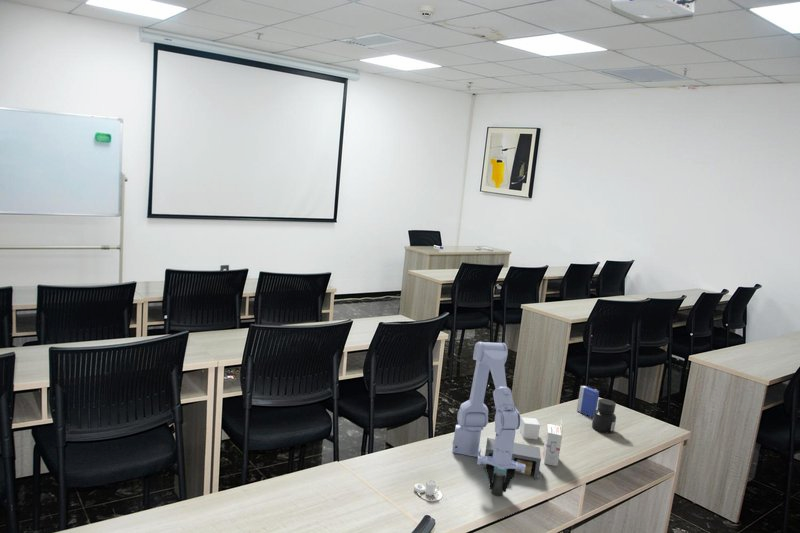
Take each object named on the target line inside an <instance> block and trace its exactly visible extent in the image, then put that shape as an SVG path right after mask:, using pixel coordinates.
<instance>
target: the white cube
mask: <svg viewBox="0 0 800 533" xmlns="http://www.w3.org/2000/svg"><path fill="white" fill-rule="evenodd" d="M520 420H521V422H520V427H519V429H518V430H519V434H520V436H521V437H522V438H523V439H533V440H538V439H539V436H540V435H539V434H540V428H541V424H540V422H539V420H538V419H537V418H534V417H525V416H524V417H522V416H520Z"/></svg>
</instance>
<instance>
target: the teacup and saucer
mask: <svg viewBox="0 0 800 533" xmlns="http://www.w3.org/2000/svg"><path fill="white" fill-rule="evenodd" d="M420 488H421V489H420ZM413 489H414V491H415V493H416V492H418V493H421V494H423V493H425V494H426V495H427V496H428V495H429V496H428V497H432V495H433V496H434V495H436V494H437V497H438V498H437V497H436V498H427V499H426V500H425V501H428V502H438V501H440V500H442V499H443V493H442V492H441V490H440V489H439V486H437V482H436V481H435V480H432V479H428V480H426V481H425V486H424V485H423V484H422V483H415V484H414V485H413ZM435 491H437V492H438V493H437V492H435ZM438 494H439V496H438ZM429 499H431V500H429ZM432 499H433V500H432Z"/></svg>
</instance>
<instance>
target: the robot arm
mask: <svg viewBox="0 0 800 533" xmlns="http://www.w3.org/2000/svg"><path fill="white" fill-rule="evenodd" d="M473 349H474V350H473V356H472V360H475V361H476V362H475V368H474V373H473V378H472V382H471V388H470V389H471V390H470V396H469V399H468V400H466V401H464V402H462V403H461V404H460V406H459V410H458V411H457V416H456V418H457V424H455V428H454V435H453V439H452V453H453V454H457V455H459V454H460V455H465V456H468V457H469V456H470V457H475V458H477V462H476V464H477V465H484V464H485V465H486V469H485V470H486V474H487V477H488V482H489V483H488V484H489V490H492V483H493V474H494V466H495V467H498V469H503V470H504V469H507V471H506V478H505V483H504V490H503V493H506V492H507V489H508V487H509V485H510V483H511V481H512V480H513V479H514V478H515V476H516V472H515V470H516V471H521V472H522V473H521V474H524V473H525V464H521V463H518V462H515V461H512V460H511V459H512V452H513V446H514V443H515V439H516V438H515V437H516V430H520V423H521V414H520V411H519V410H518V409H517V407H516V406H515V403H514V398H513V394H512V393H513V392H512V390H511V388H509V387H508V386H507V378H506V367H505V364H506V362H507V359H508V355H509V354H508V349H509V348H508V346H507V344H506V343H505V342H487V341H486V342H485V341H477V342H475V345H474V348H473ZM489 373H491V377H492V381H493V384H494V388H495V389H494V390H493V392H492V396H493V401H494V406H495V415H494V432H495V438H494V439H495V444H494V451H493V457H490V456H485V455H483V456H481V455H480V451H481V447H480V444H481V436H482V431H484V428H486V427H487V426H488V423H489V408H488V406H487V405H486V404H485V403H484V402H485V401H484V400H485V396H486V391H487V390H486V389H487V384H488V380H489V375H490V374H489Z"/></svg>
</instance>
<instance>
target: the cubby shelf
mask: <svg viewBox="0 0 800 533" xmlns="http://www.w3.org/2000/svg"><path fill="white" fill-rule="evenodd" d="M494 444H495V438H489V437H487V439H486V445H485V451H484V452H485V453H484V456H490V457H493V451H494ZM516 458H520V459H526V460H531V461H532V468H531V469H533V478H534V479H536V480H538V479H539V475H540V474H539V473H540V467H541V460H542V456H541V448H540V446H535V445H529V444H524V443H516V442H514V446H513V452H512V459H511V460H512V461H515V462H516ZM483 469H484V470H486V465H485V464H483Z"/></svg>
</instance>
